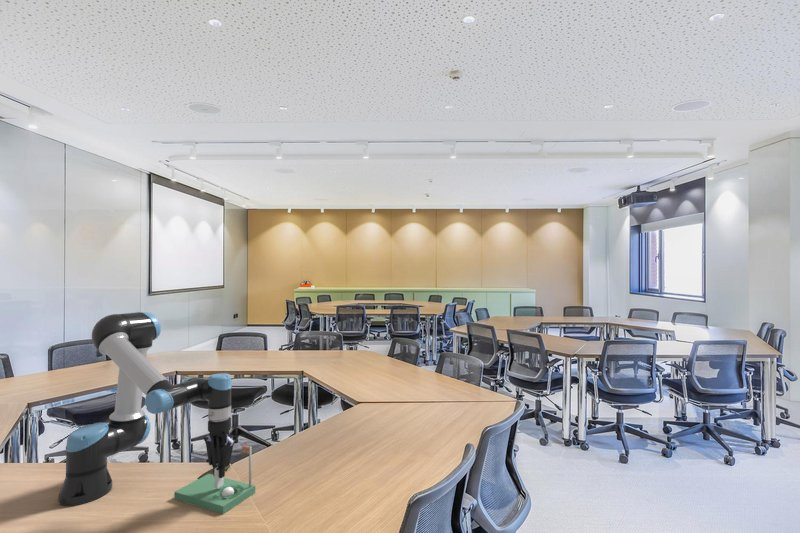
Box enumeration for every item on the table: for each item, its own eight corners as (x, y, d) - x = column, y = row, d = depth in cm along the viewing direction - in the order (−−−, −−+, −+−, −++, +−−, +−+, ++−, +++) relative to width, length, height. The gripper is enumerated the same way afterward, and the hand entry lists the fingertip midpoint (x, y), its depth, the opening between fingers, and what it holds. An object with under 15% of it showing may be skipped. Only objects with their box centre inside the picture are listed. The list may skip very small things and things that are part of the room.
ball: (217, 492, 134) (224, 488, 132) (226, 487, 137) (233, 482, 136) (221, 504, 133) (229, 499, 131) (231, 498, 136) (238, 493, 135)
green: (174, 499, 135) (175, 451, 136) (208, 480, 148) (209, 436, 148) (223, 514, 125) (223, 462, 126) (255, 492, 138) (255, 446, 139)
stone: (224, 466, 159) (224, 461, 159) (232, 469, 157) (232, 463, 157) (195, 481, 148) (195, 475, 148) (203, 484, 145) (203, 478, 146)
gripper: (197, 419, 136) (196, 487, 135) (224, 424, 131) (223, 495, 130) (215, 413, 143) (214, 477, 142) (241, 417, 138) (241, 484, 137)
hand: (218, 486), depth 136 cm, fingers closed
